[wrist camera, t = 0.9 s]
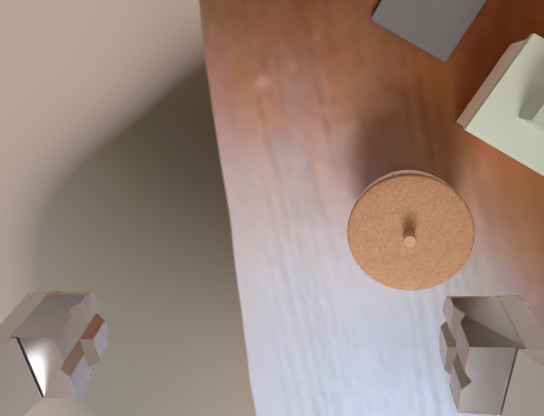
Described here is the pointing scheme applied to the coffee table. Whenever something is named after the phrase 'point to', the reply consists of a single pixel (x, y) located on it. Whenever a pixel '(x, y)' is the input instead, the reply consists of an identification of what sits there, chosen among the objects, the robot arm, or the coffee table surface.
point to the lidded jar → (410, 230)
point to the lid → (516, 108)
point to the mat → (428, 22)
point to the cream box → (489, 82)
